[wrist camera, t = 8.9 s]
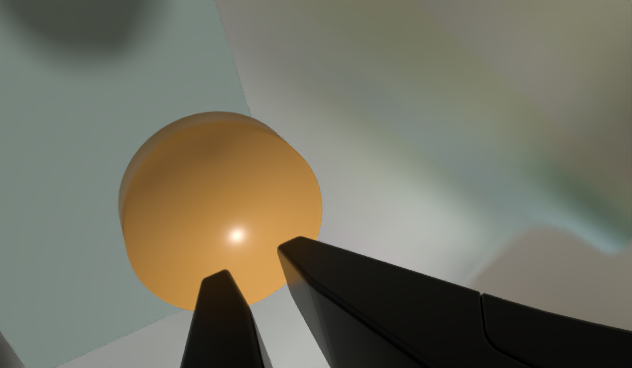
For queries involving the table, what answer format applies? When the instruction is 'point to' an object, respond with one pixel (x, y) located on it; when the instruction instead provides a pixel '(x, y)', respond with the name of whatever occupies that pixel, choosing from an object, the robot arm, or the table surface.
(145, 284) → the tan round piece
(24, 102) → the grey green box
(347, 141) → the table surface
